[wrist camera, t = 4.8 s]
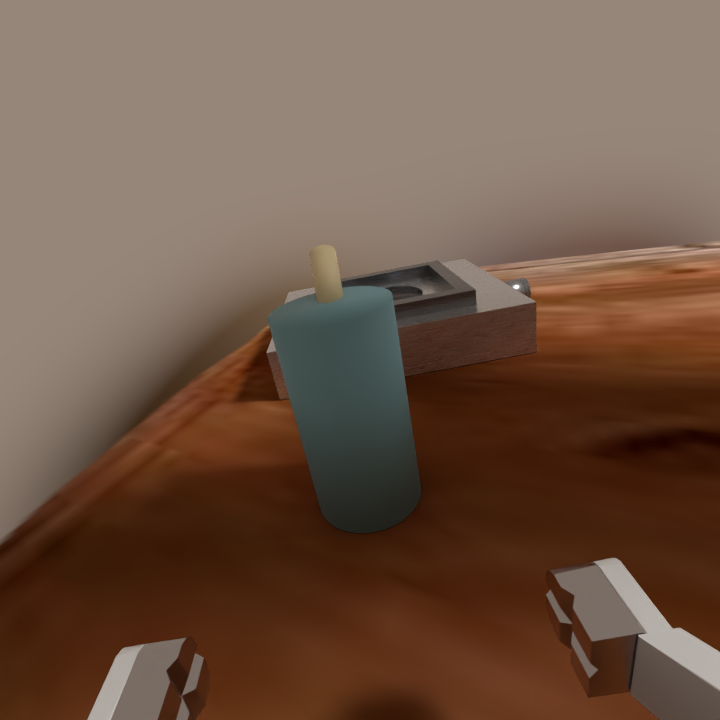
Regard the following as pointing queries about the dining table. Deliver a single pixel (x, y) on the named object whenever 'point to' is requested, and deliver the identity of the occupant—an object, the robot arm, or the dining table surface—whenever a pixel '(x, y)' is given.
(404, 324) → the ball socket block
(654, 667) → the robot arm
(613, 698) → the dining table surface
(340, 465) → the spout can
